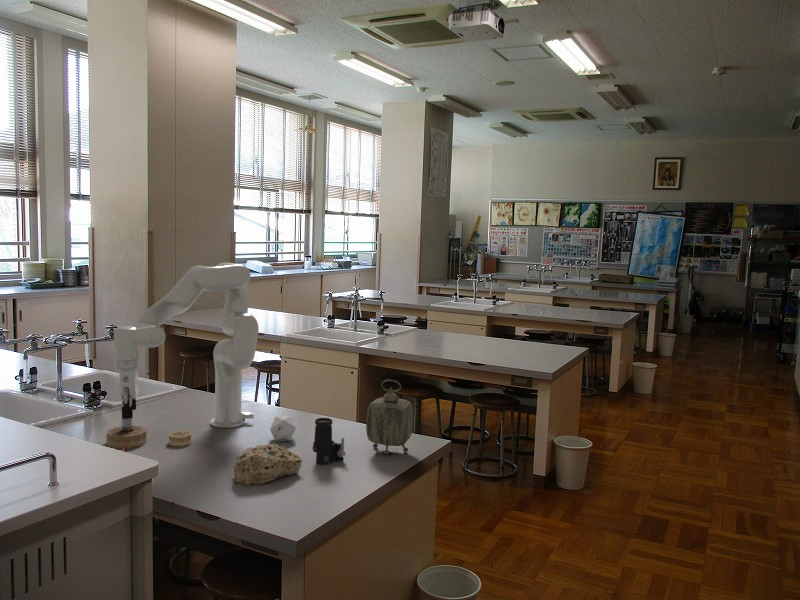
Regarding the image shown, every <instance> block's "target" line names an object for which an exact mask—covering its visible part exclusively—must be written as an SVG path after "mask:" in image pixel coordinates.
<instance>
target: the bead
mask: <svg viewBox="0 0 800 600" xmlns="http://www.w3.org/2000/svg"><path fill="white" fill-rule="evenodd" d="M147 433H148V431H147V428H146V427H145V426H142V425H136V424H132V432H129V433H122V425H120V426H114V427H112V428H110V429H108V430H107V432H106V446H108V447H110V448H113V449H123V446H126V449H132V448H136V447H140V446H142V444H143V445H144V444H146V443H147V441H148V440H147V439H148V438H147V435H148V434H147ZM115 447H116V448H115Z"/></svg>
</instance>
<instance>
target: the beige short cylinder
mask: <svg viewBox="0 0 800 600" xmlns="http://www.w3.org/2000/svg"><path fill="white" fill-rule="evenodd" d="M191 444H192V431H188V430H176V431H172V432H170V433H168V446H173V447H184V446H188V445H191Z"/></svg>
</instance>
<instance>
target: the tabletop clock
mask: <svg viewBox="0 0 800 600" xmlns="http://www.w3.org/2000/svg"><path fill="white" fill-rule="evenodd" d="M386 382H391V383H395V384H396V385H397V384H398V386H399V389H393V387H389V388H388V389H387V388H385V387H384V386H383V384H384V383H386ZM380 386H381V389H382V390H384V391H386V393H385V394H384V395H383V396H382V397H378V398H376V399H374V400H373V401H372V402H371V403H369V405H368V408H367V411H366V419H365V420H366V421H365V423H366V424H365V425H366V426H365V429H366V431H365V432H366V436H367V440H368V441H370V442H371V443H373V445H372V447H373V449H378V447H379V445H382V446H385V450H384V451H383V454H384V455H385V454H386V455H385V456H388V455H389V454H390V452H389V450H388V449H389V446H391V447H402V448H403V449H402V451H403V452H404V451H405V452H404V453H408V450H409V449H408V448H407V447H405V444H406V443H407V442H408V441H409V440H410V439H411V436H412V435H413V429H414V428H413V427H414V419H415V418H414V408H413V404H412V402H411V401H409V400H407V399H402V398H399V397H398V395H397V394H396V393H397V392H400V390H401V389H402V385H401V383H400V382H399V381H397V380H396V379H389V378H387V379H384V380H383V381H382V382H381V384H380ZM387 454H388V455H387Z"/></svg>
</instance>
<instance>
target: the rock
mask: <svg viewBox="0 0 800 600" xmlns="http://www.w3.org/2000/svg"><path fill="white" fill-rule="evenodd" d="M302 462H303V459H302V458H300V456H299V455H297V454H295V453H294V452H292V451H290V450H289V449H287V448H285V447H284V446H283V445H282V444H276V443H270V444H263V445H259V444H257V445H256V446H255V447H252V446H250V447H247V448H246V449H245V450H244V451H243V452H241V453H240V454H238V455H237V456H236V460H235V461H234V462H233V463H234V464H235V465H234V466H233V473H234V474H233V481H234V482H236V483H238V484H243V485H248V486H250V485H251V484H254V485H258V484H261V485H262V484H264V483H265V484H266V483H270V482H272V481H274V480H277V479H280V478H282V477H284V476H288V475H290V476H291V475H293V474H299V472H300V469H301V467H302Z"/></svg>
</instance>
